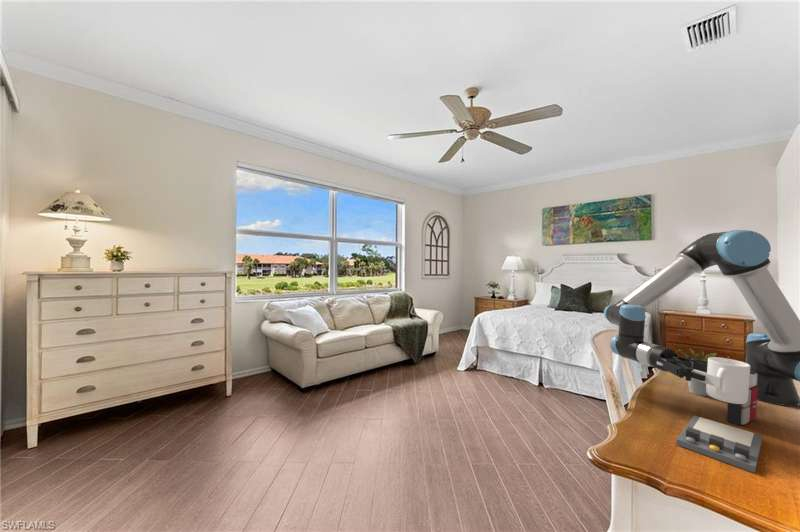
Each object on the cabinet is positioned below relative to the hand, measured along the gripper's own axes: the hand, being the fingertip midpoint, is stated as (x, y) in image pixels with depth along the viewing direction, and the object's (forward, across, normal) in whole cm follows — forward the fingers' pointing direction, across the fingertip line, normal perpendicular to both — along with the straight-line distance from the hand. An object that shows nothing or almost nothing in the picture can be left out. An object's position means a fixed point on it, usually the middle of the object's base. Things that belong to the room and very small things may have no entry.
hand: (738, 381), depth 87 cm
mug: (-3, 0, -6) cm, 7 cm away
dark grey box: (-9, -18, -17) cm, 26 cm away
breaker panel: (-1, +4, -16) cm, 17 cm away
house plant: (-28, -29, -17) cm, 44 cm away
